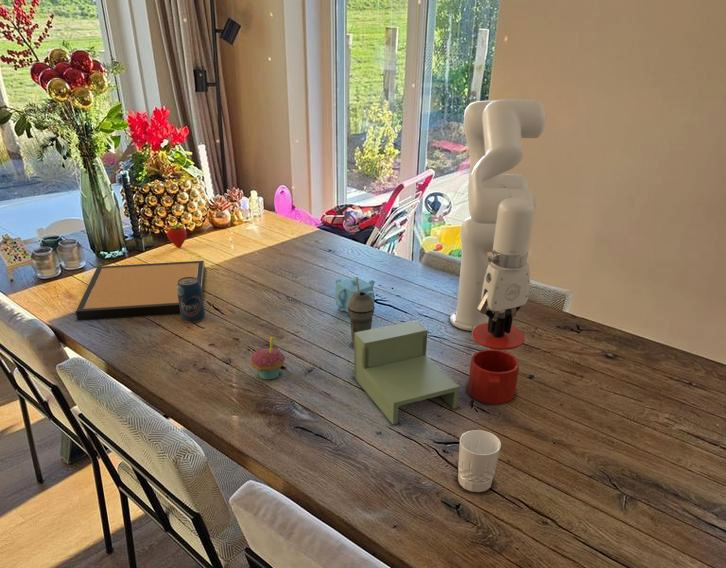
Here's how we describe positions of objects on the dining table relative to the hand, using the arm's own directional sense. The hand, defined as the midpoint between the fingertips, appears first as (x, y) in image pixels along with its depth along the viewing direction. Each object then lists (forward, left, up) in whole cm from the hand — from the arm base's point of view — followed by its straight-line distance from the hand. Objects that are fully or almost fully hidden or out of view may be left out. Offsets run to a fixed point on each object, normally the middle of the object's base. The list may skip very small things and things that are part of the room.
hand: (498, 331), depth 147 cm
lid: (0, 0, -1) cm, 1 cm away
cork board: (+69, -94, -16) cm, 118 cm away
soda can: (+59, -69, -16) cm, 92 cm away
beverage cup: (+20, -34, -16) cm, 42 cm away
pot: (0, 0, -16) cm, 16 cm away
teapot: (+12, -55, -16) cm, 58 cm away
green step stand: (+20, -8, -16) cm, 27 cm away
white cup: (+22, +27, -16) cm, 39 cm away
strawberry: (+52, -131, -16) cm, 142 cm away
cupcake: (+48, -29, -16) cm, 58 cm away
